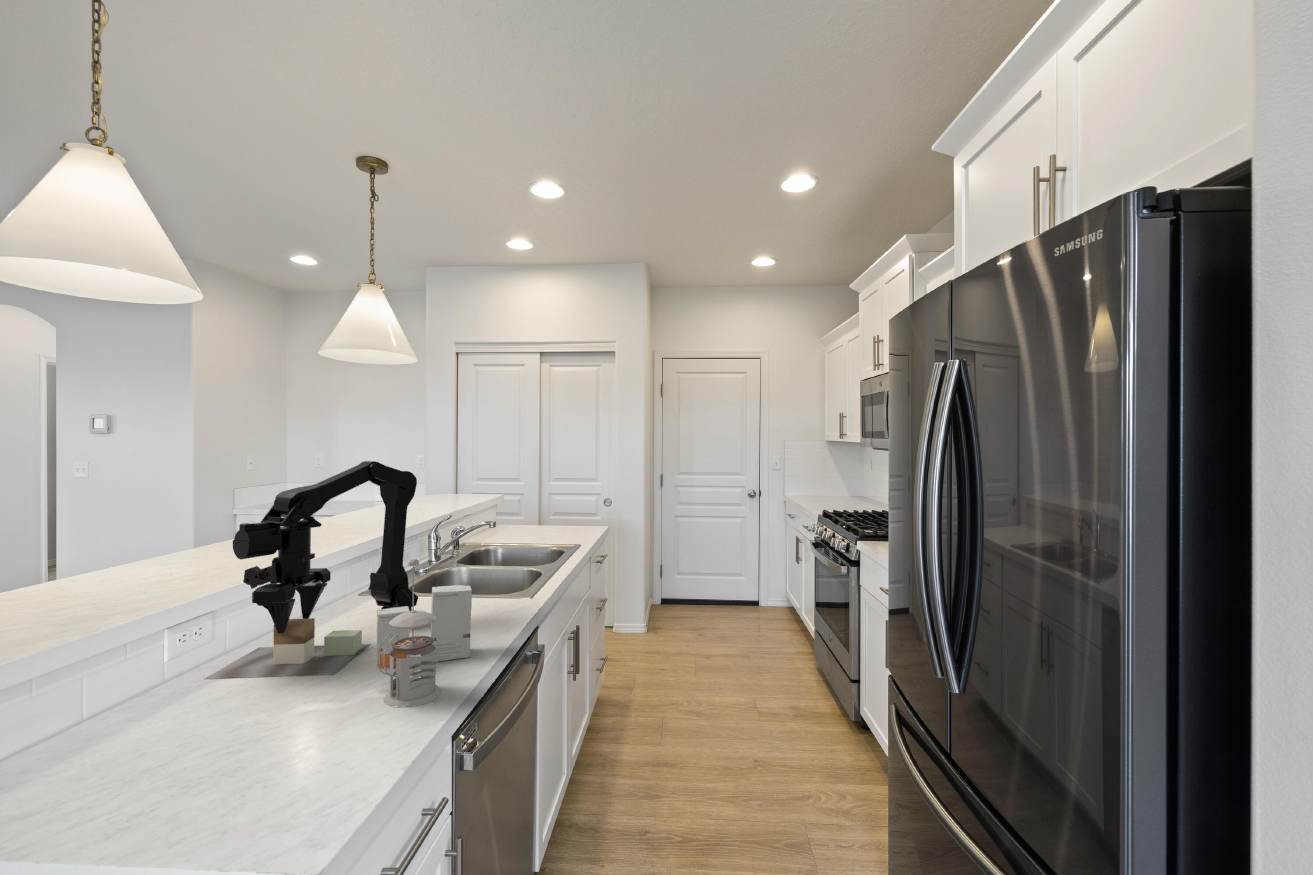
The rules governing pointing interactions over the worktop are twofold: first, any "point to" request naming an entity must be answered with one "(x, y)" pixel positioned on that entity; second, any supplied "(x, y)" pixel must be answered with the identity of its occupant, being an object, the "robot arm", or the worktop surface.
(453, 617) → the skincare box
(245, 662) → the slate board
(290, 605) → the robot arm
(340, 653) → the sage brick
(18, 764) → the worktop surface
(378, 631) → the skincare box
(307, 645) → the cream brick
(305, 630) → the walnut brick
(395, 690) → the french press
